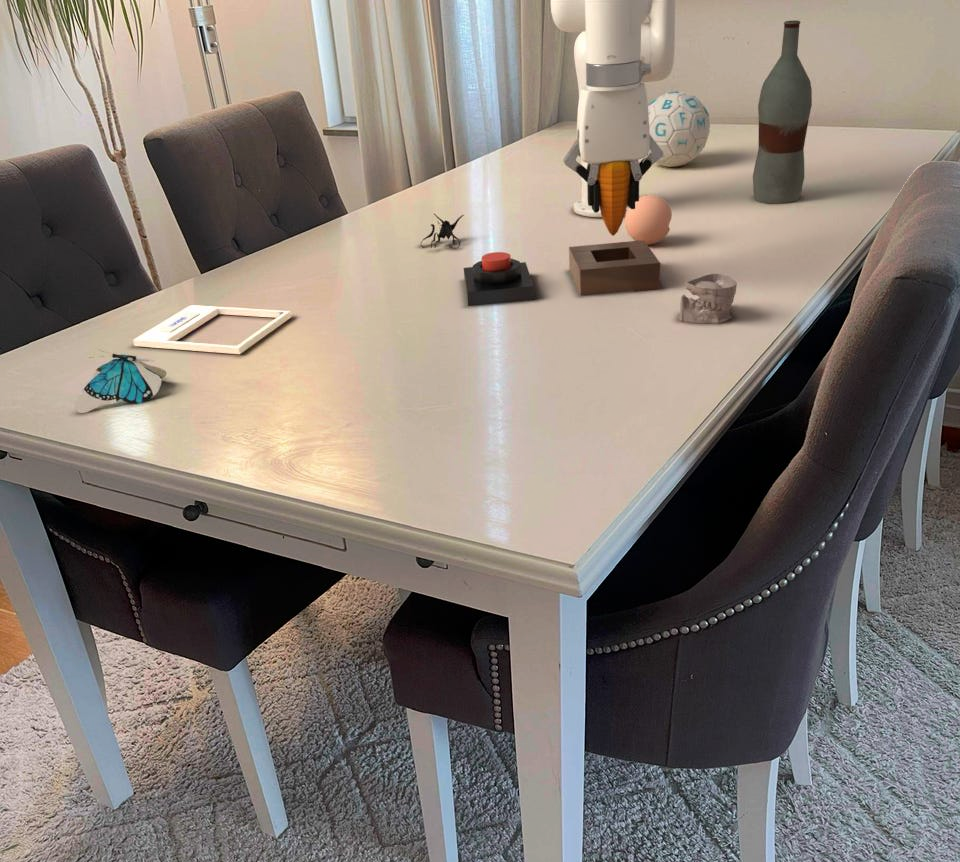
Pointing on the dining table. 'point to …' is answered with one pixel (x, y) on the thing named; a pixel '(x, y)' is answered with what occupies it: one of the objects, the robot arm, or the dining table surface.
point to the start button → (496, 261)
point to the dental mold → (708, 299)
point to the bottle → (783, 125)
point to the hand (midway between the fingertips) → (613, 207)
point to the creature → (443, 231)
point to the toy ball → (648, 219)
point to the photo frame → (198, 315)
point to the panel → (498, 284)
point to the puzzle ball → (678, 127)
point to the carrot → (613, 192)
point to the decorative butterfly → (121, 383)
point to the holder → (614, 267)
